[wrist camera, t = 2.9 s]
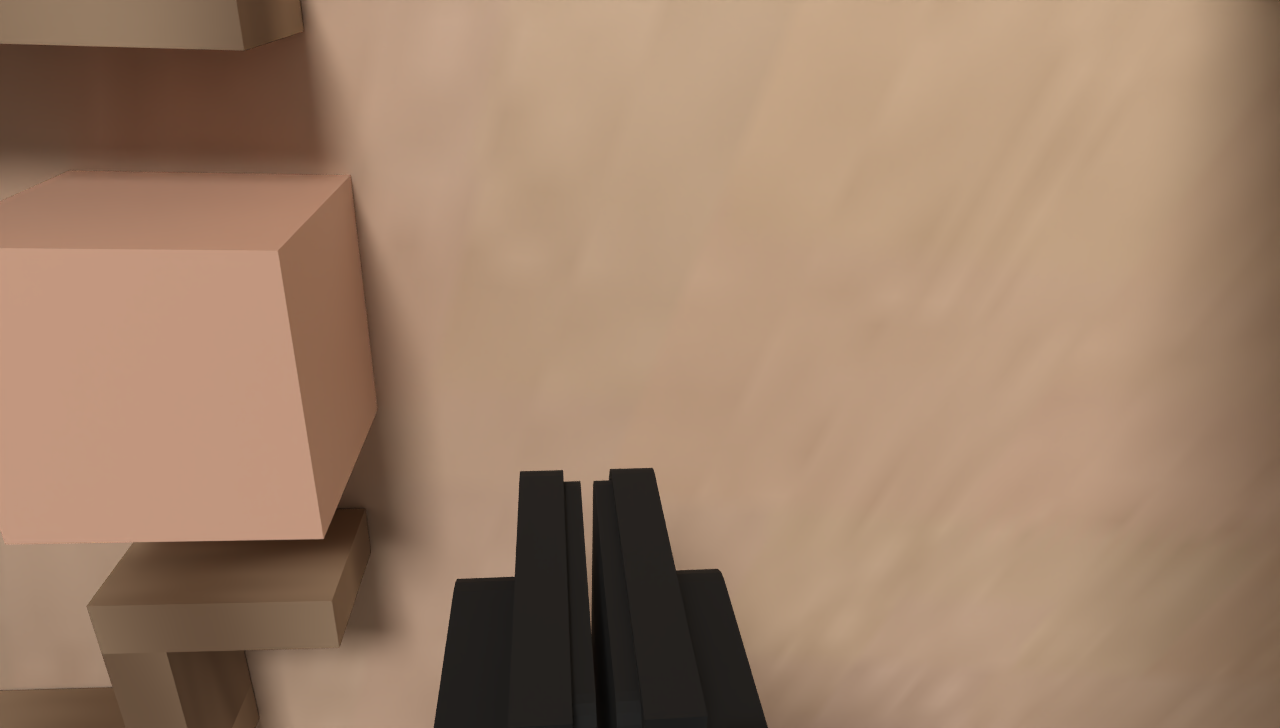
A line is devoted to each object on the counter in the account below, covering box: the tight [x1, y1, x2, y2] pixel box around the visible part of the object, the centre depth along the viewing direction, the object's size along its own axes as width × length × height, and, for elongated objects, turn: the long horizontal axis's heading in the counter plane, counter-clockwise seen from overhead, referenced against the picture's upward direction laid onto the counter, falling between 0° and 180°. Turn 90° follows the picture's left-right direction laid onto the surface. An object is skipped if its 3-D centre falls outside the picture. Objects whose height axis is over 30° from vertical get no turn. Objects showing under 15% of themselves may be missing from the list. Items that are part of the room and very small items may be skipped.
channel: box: [0, 0, 371, 728], centre depth 16 cm, size 11×18×3 cm, turn 178°
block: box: [0, 171, 378, 544], centre depth 15 cm, size 5×5×4 cm
